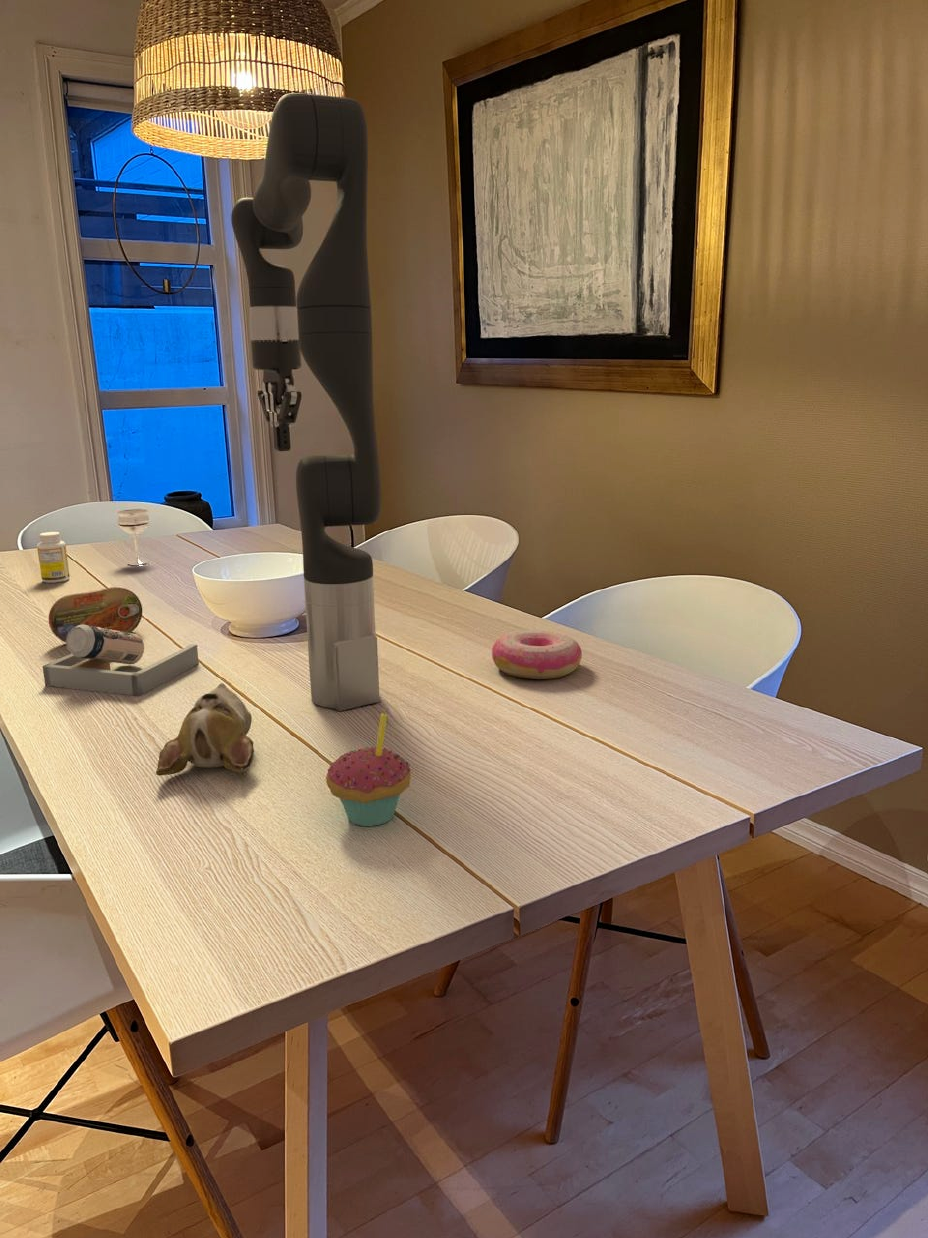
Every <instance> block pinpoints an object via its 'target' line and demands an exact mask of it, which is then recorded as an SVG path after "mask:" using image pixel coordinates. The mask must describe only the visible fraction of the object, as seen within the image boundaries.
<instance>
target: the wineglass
mask: <svg viewBox="0 0 928 1238" xmlns="http://www.w3.org/2000/svg"><path fill="white" fill-rule="evenodd" d="M148 512H149V510H148V509H146V508H145V509H142V508H136V509H124V510H123V509H122V510H120V511H117V515H118V516H119V517H118V518H117V523H118V526H119V528H120V529H121V530H122V531H124V532H125V533H127V534H130V535H131V536H132V537H133V542H134V543H133V544H134V548H135V555H136V559H135V560H133V561H130V562H131V563H133V564H142V563H145V562H146V561H147V560H143V559H140V558H139V545H138V543H139V540H138V537H139V535H140V534H141V533H143V532H144V531H145V530H146V529H147V528H148V526H149V524H150V517H149V516H148V515H147V514H148Z"/></svg>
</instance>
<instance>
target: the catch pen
mask: <svg viewBox="0 0 928 1238" xmlns="http://www.w3.org/2000/svg"><path fill="white" fill-rule="evenodd" d="M86 659H87V658H80V657H76V656H74V655H73V654H72V653H70V654H67V655H65V656H63V657H60V658H59V659H56V660H54V661H51V662H49V663H47V664H45V665H42V672H43V680H44V686H45V687H51V686H55V687H54V688H61V687H65V688H64V689H70V688H72V689H71V690H79V689H81V691H87V692H88V691H89V692H91V691H92V692H98V693H109V694H118V695H125V696H126V695H127V696H135V697H136V696H137V697H140V696H142V695H144V694H146V693H148V692H149V691H152V690H153V689H155V688H157V687H158V686H160V685H162V684H164V683H165V682H167V681H169V680H172V679H173V678H175V677H176V676H178V675H181V674H182V673H184V672H186V671H187V670H189V669H190V668H193V667H194V666H196V665H198V664H199V663H200V662H199V651H198V644H193V643H191V644H189V645H187V646H185V647H183V648H180V649H179V650H177V651H175V652H173V653H171V654H170V655H167V656H166V657H163V658H162V659H159V660H158V661H156V662H154V663H152V664H150V665H147V666H146V667H144V668H142V669H141V670H138V671H137V672H128V671H119V670H101V669H91V668H81V667H71V666H72V665H75V664H77V663H79V662H81V661H83V660H86ZM92 660H94V659H92Z"/></svg>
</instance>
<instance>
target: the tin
mask: <svg viewBox="0 0 928 1238" xmlns="http://www.w3.org/2000/svg"><path fill="white" fill-rule="evenodd" d="M142 618H143V605H142V601H141V600H140V598H139V596H138V595H136V593H135V592H133V591H132V590H130V589H127V588H124V587H119V586H118V587H116V586H114V587H112V586H111V587H106V588H100V589H96V590H90V591H85V592H80V593H78V592H77V593H72V594H68V595H65V596H62V597H60V598H59V599H57V600H56V601H55V603H53V605H52V606H51V608H50V610H49V613H48V625H49V628H50V630H51V632H52V633H53V634H54V636H56V638H58V639H59V640H60V641H61V642H64V643H65V644H66V638H67V635H68V632H69V631H70V630H71V629H72V628H73V627H76V626H78V625H89V626H95V627H100V628H106V629H111V630H116V631H122V632H127V633H132V632H134V630H136V628H137V627H138V626H139V625H140V623H141V620H142Z"/></svg>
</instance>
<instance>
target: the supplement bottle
mask: <svg viewBox="0 0 928 1238" xmlns="http://www.w3.org/2000/svg"><path fill="white" fill-rule="evenodd" d="M61 538H62V537H61V534H60V532H59V531H48V532H42V533H39V541H40V542H39V543H37V545H36V548H37V549H36V551H37V555H38V562H39V570H40V575H41V580H42V582H44V583H47V584H56V583H57V582H58V583H63V582H66V581H68V580H69V579H70V578H71V577H70V568H69V561H68V560H69V559H68V555H67V547H66V542H65V541H63V540H62V539H61Z"/></svg>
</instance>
